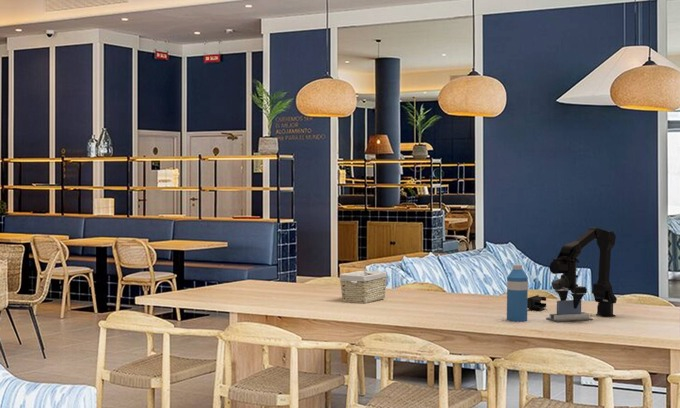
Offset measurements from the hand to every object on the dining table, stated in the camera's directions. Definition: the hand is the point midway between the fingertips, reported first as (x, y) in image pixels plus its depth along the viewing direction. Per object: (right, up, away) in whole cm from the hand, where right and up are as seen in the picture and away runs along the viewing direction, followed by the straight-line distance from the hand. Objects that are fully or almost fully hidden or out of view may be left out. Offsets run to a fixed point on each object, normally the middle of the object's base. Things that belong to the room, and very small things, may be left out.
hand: (569, 307), depth 426 cm
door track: (0, -6, 0) cm, 6 cm away
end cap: (-8, -5, +33) cm, 35 cm away
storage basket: (-92, -4, +66) cm, 113 cm away
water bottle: (-24, -6, -1) cm, 25 cm away
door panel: (0, -5, 0) cm, 5 cm away
